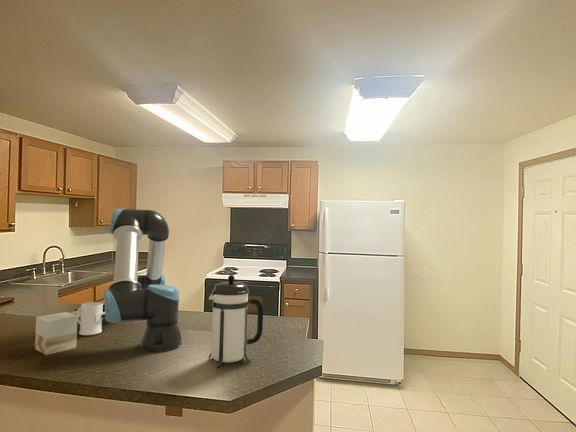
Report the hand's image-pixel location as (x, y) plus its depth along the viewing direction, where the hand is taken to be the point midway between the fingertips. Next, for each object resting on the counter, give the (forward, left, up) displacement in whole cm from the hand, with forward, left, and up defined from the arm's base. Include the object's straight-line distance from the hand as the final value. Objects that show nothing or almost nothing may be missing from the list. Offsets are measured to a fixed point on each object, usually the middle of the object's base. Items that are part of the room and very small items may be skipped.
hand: (81, 317), depth 141 cm
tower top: (-8, +13, -2) cm, 15 cm away
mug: (+2, -3, -7) cm, 8 cm away
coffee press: (-68, -19, -8) cm, 71 cm away
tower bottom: (-8, +13, -8) cm, 17 cm away
